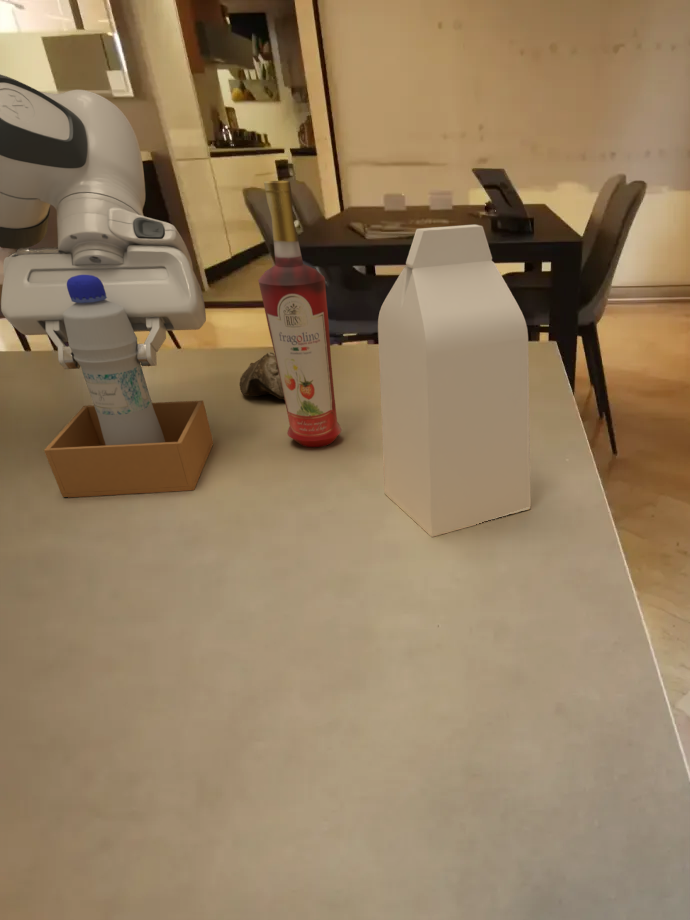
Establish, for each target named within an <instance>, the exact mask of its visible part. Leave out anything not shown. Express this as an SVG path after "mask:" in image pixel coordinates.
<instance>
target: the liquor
mask: <svg viewBox="0 0 690 920" xmlns="http://www.w3.org/2000/svg"><path fill="white" fill-rule="evenodd" d="M263 185H264V192H265V197H266V202H267V206H268V209H269V213H270V217H271V227H272V228H271V229H272V236H273V237H272V240H273V250H274V261H275V262H274V263H275V265H273V266H271V267H269V268H268V269H266V270H265V271H264V273H262V275H261V276H260V277H259V279H257V281H258V285H259V290H260V294H261V299H262V304H263V308H264V313H265V319H266V323H267V328H268V332H269V336H270V340H271V345H272V348H273V353H274V354H275V357H276V361H277V366H278V370H279V375H280V380H281V385H282V389H283V394H284V399H283V400H284V404H285V409H286V414H287V419H288V423H289V427H288V429H287V432H286V434H287V436H288V437H289V438H291V439H292V440H293V441H295V442H296V443H298V444H299V445H300V446H302V447H306V448H322V447H326V446H328V445H330V444H332V443H334V441H335V440H336V439H337V438H338V436H339V435H340V434H341V432H342V430H343V429H342V427H341V425H340V424H339V422H338V416H337V407H336V398H335V389H334V388H335V387H334V378H333V377H334V376H333V366H332V354H331V353H332V351H331V337H330V336H331V335H330V324H329V313H328V302H327V292H326V290H327V289H326V280H325V279H326V278H325V276H324V275H322V273H320V272H319V271H318V270H317V269H316V268H313V267H312V266H309V265H307V264H305V263H304V261H303V257H302V252H301V248H300V243H299V237H298V235H297V229H296V225H295V221H294V214H293V212H294V211H293V202H294V200H293V193H292V187H291V181H290V180H267V181H263Z"/></svg>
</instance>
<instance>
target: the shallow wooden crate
mask: <svg viewBox="0 0 690 920" xmlns="http://www.w3.org/2000/svg"><path fill="white" fill-rule="evenodd" d="M152 405H153V409H154V411H155V414H156V417H157V419H158V422H159V424H160V427H161V430H162V433H163V436H164V439H165V442H164V443H144V444H125V445H105V441H104V438H103V434H102V430H101V426H100V422H99V419H98V415H97V412H96V410H95V407H94V404H91V405H89V404H88V405H83V406H82V407H81V409H79V411H77V413H76V414H75V415H74V416H73V417H72V419H70V421H69V422H67V424H66V425H65V426H63V428H62V429H61V430H60V432H59V433H58V434H57V435H56V436H54V439H52V441H50V443H49V444H48V445H47V446H46V447H45V448H44V449H43V452H44V454H45V457H46V459H47V461H48V464H49V467H50V469H51V472H52V473H53V476H54V479H55V481H56V484H57V487H58V489H59V492H60V494H61V497H62V498H63V497H68V498H83V497H98V496H99V497H100V496H114V495H115V496H116V495H117V496H119V495H132V494H133V495H135V494H150V493H168V492H185V491H186V492H187V491H194V490H195V489H196V487H197V484H198V482H199V479H200V477H201V474H202V472H203V469H204V468H205V465H206V462H207V460H208V458H209V455H210V454H211V453H210V452H211V450H212V448H213V445H214V439H213V434H212V432H211V427H210V423H209V419H208V415H207V410H206V407H205V403H204V400H202V399H201V400H182V401H181V400H179V401H178V400H177V401H159V402H156V401H155V402H152Z"/></svg>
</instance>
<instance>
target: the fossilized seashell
mask: <svg viewBox="0 0 690 920" xmlns="http://www.w3.org/2000/svg"><path fill="white" fill-rule="evenodd" d="M239 390H240V392H241V394H242V395H243V396H257V397H258V396H267V395H272V396H274V397H276V398H278V399H280V400H285V399H284V394H283V389H282V385H281V380H280V375H279V370H278V366H277V361H276V357H275V353H274V352H269V351H268V352H266V353H265V354H264V355H263V356H262V357H260V358H259V359H257V360H256V361H255V362H250V364H249V366H248V367H247V368H246V369H245V370H244V372H243V373H242V375H241V376H240V379H239Z"/></svg>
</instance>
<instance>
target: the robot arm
mask: <svg viewBox="0 0 690 920" xmlns="http://www.w3.org/2000/svg"><path fill="white" fill-rule="evenodd" d="M126 116H127V115H125V114H124V112H123V111H122V110H121V109H120V108H119V107H118V106H117V105H116V104H114V103H113V102H112V101H110V100H109V99H107V98H106V97H104V96H102V95H100V94H98V93H95V92H93V91H89V90H87V89H86V90H85V89H72V90H68V91H65V92H61V93H53V92H52V93H51V92H46V91H45V92H44V91H41V90H37V89H35V88H33V87H32V86H29V85H28V84H25V83H24V82H21V81H20V80H17V79H16V78H15V79H14V78H12V77H10V76H6V75H3V74H0V248H3V249H14V250H16V251H15V252H12V253H10V254H9V255H8V256H6V257H4V259H3V264H2V267H3V270H2V271H3V282H2V288H1V297H0V311H1V313H2V315H3V317H4V318H5V319H6V320H7V321H8V322H9V323H10V325H11V326H13V327H14V328H15V330H17V331H18V332H19V333H21V334H22V335H24V336H47V335H48V337H49V338H50V340H51V341H52V342H53V344H54V345H55V346H56V348H57V356H58V357H57V361H58V363H59V365H60V366H61V367H62V368H63V369H64V370H80V368H81V366H80V365H79V363H78V362H77V361H76V360H75V359H74V354H73V352H72V350H71V348H70V347H69V345H66V344H65V343H66V342H68V337H67V332H66V327H65V323H64V318H63V313H64V312H65V311H66V310H67V309H68V308H70V307H71V306H72V305H73V304H75V303H76V302H72V300H71V298H70V295H69V292H68V289H67V281H68V279H70V278H71V277H74V276H77V275H92V276H95V277H97V278H99V279H100V280H101V282H102V284H103V286H104V289H105V293H106V297H107V298H106V299H105V300H107V301H109V302H112V303H114V304H117V305H120V306H122V307H123V308H124V310H125V312H126V314H127V317H128V319H129V321H130V324H131V326H132V328H133V331H134V333H135V332H138V333H139V332H148V335H147V337H146V339H145V340H144V343H137V344H136V346H137V351H138V353H137V359H138V361H139V363H140V364H141V367H156V366H157V365H158V361H157V353H158V352H159V350H160V349H161V347H162V346H163V344H164V343H165V341H166V340H167V332H169V331H196V330H200V329H201V328H202V327H203V326H204V324H205V323H206V321H207V314H206V313H207V312H206V306H205V300H204V295H203V291H202V288H201V284H200V283H199V280H198V278H197V275H196V274H195V271H194V266H193V261H192V258H191V255H190V252H189V250H188V247H187V245H186V243H185V241H184V240H183V237H182V236H181V234H180V233H179V231H178V230H177V228H176V226H175V225H174V224H171V223H169V222H167V221H163V220H159V219H155V218H152V217H147V216H145V215H144V213H143V212H144V211H143V210H144V207H145V202H146V181H145V172H144V163H143V158H142V151H141V148H140V143H139V140H138V137H137V134H136V132H135V130H134V128H133V126H132V125H131V122H130V121H129V119H128V118H127V117H126ZM51 206H52V207H53V208H54V209H55V210H56V228H57V229H56V230H57V231H56V232H57V246H46V247H35V248H31V247H34V246H36V245H38V244H40V242H42V241H43V240H44V238H45V237H46V234H47V231H48V227H49V220H50V213H51Z"/></svg>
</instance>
